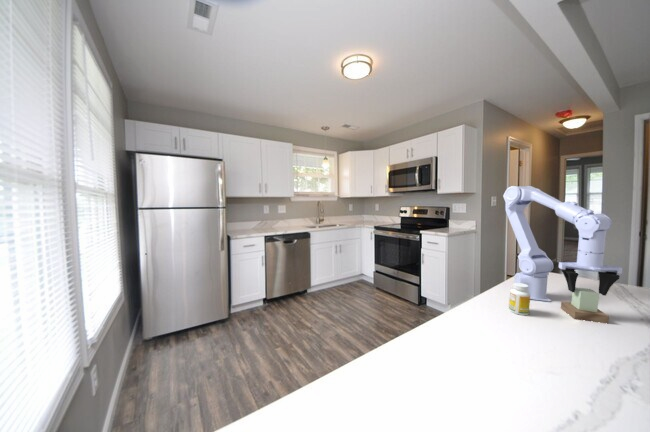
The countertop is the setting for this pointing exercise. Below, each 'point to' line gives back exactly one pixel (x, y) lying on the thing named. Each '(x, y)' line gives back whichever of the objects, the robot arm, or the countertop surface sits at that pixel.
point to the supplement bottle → (519, 299)
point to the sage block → (585, 299)
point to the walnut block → (584, 313)
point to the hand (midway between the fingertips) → (586, 292)
